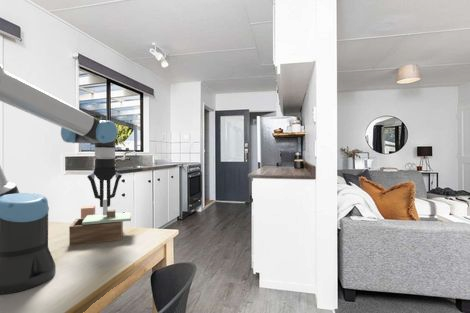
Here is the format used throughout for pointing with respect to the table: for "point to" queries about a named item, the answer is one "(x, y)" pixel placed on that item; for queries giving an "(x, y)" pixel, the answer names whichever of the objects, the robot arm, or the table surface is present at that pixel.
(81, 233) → the wooden box
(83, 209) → the key block
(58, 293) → the table surface
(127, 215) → the lid
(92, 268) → the table surface
